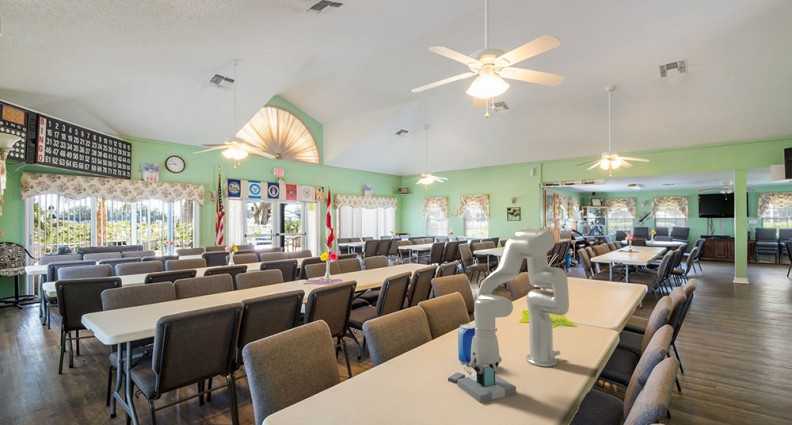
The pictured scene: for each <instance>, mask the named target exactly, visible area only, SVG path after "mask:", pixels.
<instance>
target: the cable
mask: <svg viewBox="0 0 792 425" xmlns="http://www.w3.org/2000/svg"><path fill="white" fill-rule="evenodd" d="M462 368H463V369H465V370H466V371H467V373H468V374H469V375H470V376H475V375H476V374H474V373H472V371H471V370H470V369H469V368H468V365H464V364H462Z"/></svg>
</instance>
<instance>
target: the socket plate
mask: <svg viewBox="0 0 792 425" xmlns="http://www.w3.org/2000/svg"><path fill="white" fill-rule="evenodd" d="M474 375H475V376H471V375H470V376H467V377H466V376H465V378H461V379H457V383H456V386H457V387H459V388H460V389H461V390H462V391H463V392H465V393H467V394H468V395H469V396H471V397H472V398H473V399H475V400H476V401H477V402H478V403H484V402H485V403H486V402H488V401H493V400H495V399H500V398H504V397H507V396H511V395H514V394H517V386H515V385H514V384H513V383H511V382H509V381H507V380H506V379H504V378H502V377H501V376H498V375H497V374H496V373H495V382H494V385H493V386H489V387H485V388H484V387H483V386H481V385H480V384H478V382H477V374H474Z"/></svg>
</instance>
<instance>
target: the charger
mask: <svg viewBox="0 0 792 425" xmlns="http://www.w3.org/2000/svg"><path fill="white" fill-rule="evenodd" d="M482 374H483V376H484V384H483V385H481V384H480V385H481V386H483V387H484V388H485V387H489V386H493V385H494V369H493V368H491V367H489V364H488V365H483V370H482ZM478 384H479V383H478Z"/></svg>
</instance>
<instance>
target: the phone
mask: <svg viewBox="0 0 792 425" xmlns="http://www.w3.org/2000/svg"><path fill="white" fill-rule="evenodd" d="M461 378H466V374H464V373H461V372H455V373H454V374H452V375H450V376H449V377H448V378H447V381H448V382H450V383H454V384H457V379H461Z"/></svg>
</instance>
